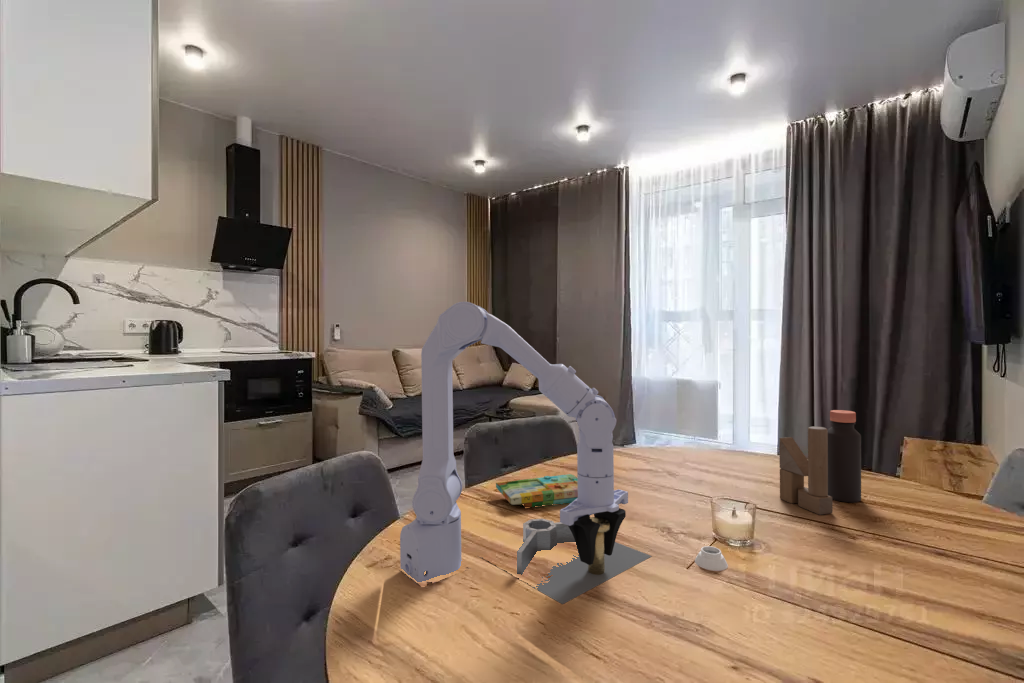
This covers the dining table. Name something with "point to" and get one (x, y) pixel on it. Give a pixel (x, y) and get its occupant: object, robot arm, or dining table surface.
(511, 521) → the dining table surface
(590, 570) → the hinge pin
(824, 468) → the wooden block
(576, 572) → the mat
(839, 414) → the bottle
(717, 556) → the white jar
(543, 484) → the puzzle game
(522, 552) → the steel hinge
